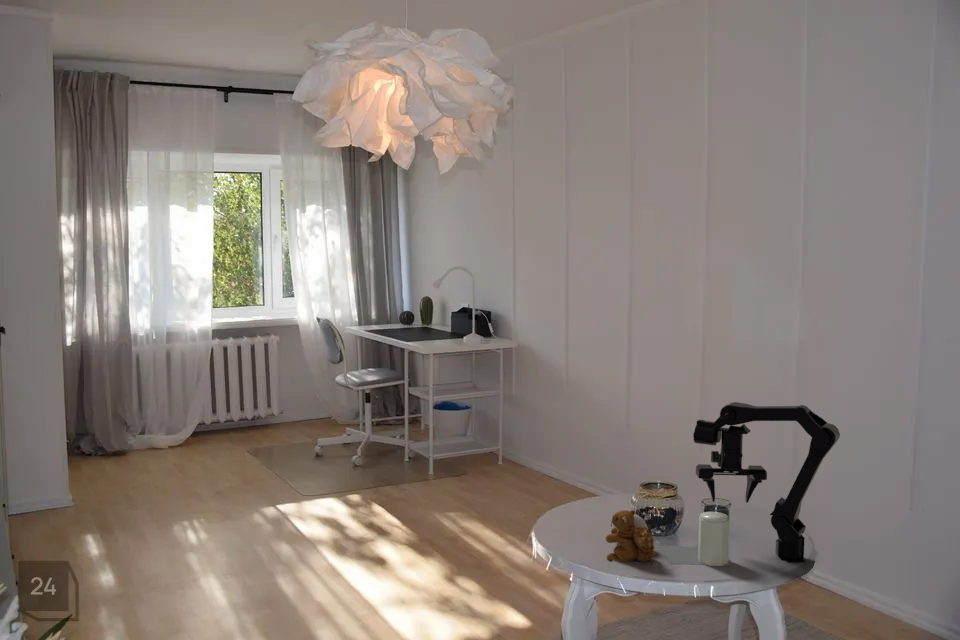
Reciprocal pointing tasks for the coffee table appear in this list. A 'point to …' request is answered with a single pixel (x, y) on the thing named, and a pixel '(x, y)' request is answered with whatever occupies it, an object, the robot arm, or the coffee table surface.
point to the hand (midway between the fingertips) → (730, 501)
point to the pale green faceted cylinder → (713, 538)
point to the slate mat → (684, 555)
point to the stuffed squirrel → (629, 539)
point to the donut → (638, 522)
